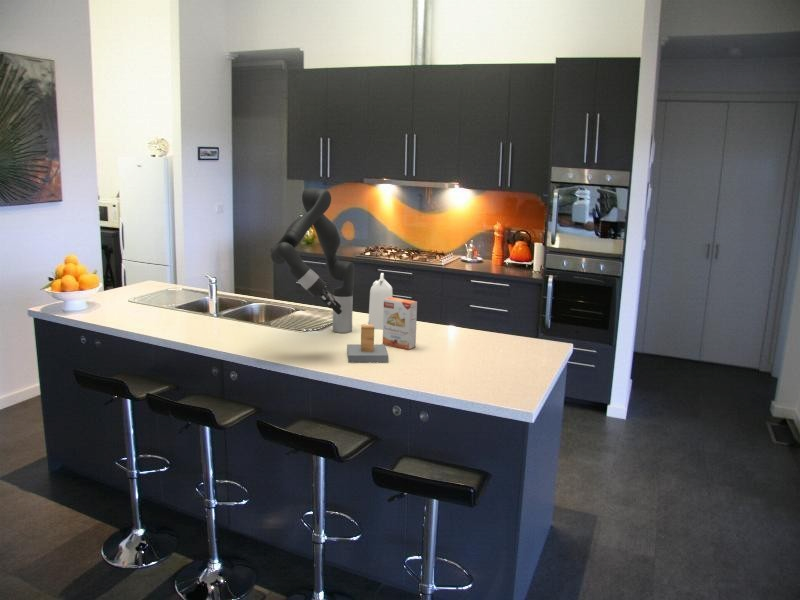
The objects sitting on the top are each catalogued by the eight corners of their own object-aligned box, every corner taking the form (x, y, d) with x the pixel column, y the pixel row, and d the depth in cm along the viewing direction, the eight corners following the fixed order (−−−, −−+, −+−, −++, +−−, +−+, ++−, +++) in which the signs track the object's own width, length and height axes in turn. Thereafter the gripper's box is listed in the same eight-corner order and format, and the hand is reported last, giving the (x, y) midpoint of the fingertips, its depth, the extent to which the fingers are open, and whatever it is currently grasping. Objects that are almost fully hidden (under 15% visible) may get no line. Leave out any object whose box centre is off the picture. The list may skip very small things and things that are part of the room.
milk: (392, 329, 323) (393, 276, 317) (368, 328, 323) (369, 275, 317) (392, 323, 334) (394, 272, 329) (369, 322, 334) (370, 271, 329)
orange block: (360, 348, 279) (361, 324, 277) (372, 348, 280) (373, 324, 278) (361, 351, 274) (361, 327, 272) (373, 351, 275) (374, 327, 273)
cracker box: (381, 344, 296) (383, 298, 292) (389, 341, 301) (390, 296, 297) (408, 350, 289) (410, 303, 285) (415, 347, 294) (417, 300, 290)
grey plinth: (347, 351, 285) (347, 344, 284) (384, 351, 286) (384, 344, 286) (348, 362, 269) (348, 355, 268) (388, 362, 271) (388, 355, 270)
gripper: (318, 279, 261) (347, 308, 265) (318, 273, 275) (346, 300, 279) (304, 292, 262) (333, 321, 266) (305, 285, 276) (333, 312, 280)
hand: (340, 310), depth 272 cm, fingers open, 8 cm apart
